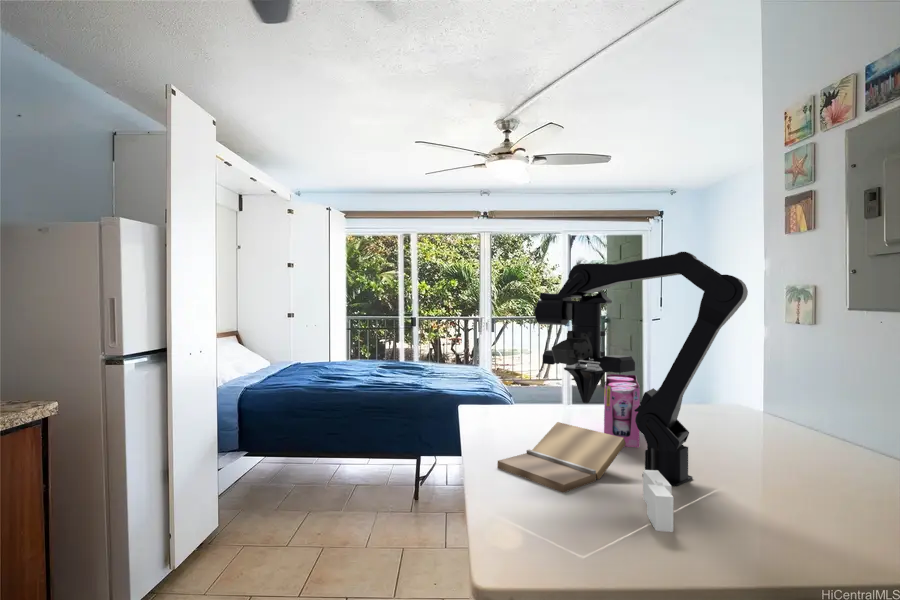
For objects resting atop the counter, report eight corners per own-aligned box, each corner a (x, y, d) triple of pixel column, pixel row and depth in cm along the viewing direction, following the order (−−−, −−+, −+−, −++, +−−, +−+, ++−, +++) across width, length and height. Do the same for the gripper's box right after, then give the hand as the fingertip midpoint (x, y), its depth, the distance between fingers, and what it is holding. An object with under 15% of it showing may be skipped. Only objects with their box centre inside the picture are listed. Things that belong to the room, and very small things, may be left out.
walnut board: (595, 481, 88) (595, 470, 88) (563, 493, 83) (563, 480, 83) (529, 459, 101) (529, 449, 101) (497, 468, 95) (497, 457, 95)
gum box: (640, 450, 108) (640, 389, 108) (603, 447, 111) (603, 386, 111) (636, 425, 131) (636, 374, 131) (605, 423, 133) (605, 373, 134)
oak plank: (625, 443, 94) (623, 437, 94) (599, 479, 89) (596, 473, 88) (559, 427, 107) (557, 421, 106) (532, 457, 101) (530, 452, 101)
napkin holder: (639, 494, 84) (639, 461, 84) (711, 515, 76) (711, 478, 76) (594, 521, 73) (594, 482, 73) (672, 548, 65) (672, 505, 65)
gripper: (525, 325, 102) (524, 400, 102) (602, 328, 88) (602, 416, 87) (559, 324, 109) (559, 394, 109) (636, 327, 94) (636, 408, 94)
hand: (585, 402), depth 100 cm, fingers closed
